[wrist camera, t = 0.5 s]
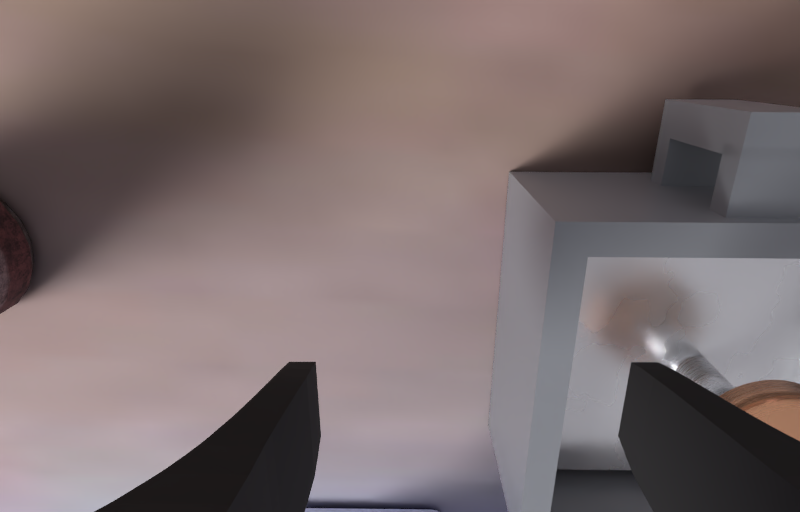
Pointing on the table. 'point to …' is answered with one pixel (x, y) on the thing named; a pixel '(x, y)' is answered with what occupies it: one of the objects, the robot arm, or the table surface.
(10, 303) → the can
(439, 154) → the table surface
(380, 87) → the table surface
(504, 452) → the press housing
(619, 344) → the plunger
